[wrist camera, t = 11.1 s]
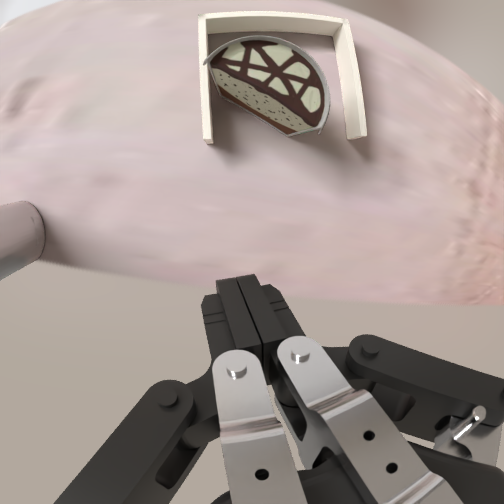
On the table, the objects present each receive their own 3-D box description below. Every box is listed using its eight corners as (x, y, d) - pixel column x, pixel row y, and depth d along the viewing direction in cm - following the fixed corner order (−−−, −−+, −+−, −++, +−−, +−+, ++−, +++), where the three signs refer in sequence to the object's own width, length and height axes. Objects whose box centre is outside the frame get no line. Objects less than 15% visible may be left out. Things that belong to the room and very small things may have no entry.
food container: (323, 105, 29) (358, 82, 20) (298, 144, 30) (326, 131, 21) (237, 53, 27) (241, 10, 17) (208, 90, 28) (200, 56, 18)
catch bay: (206, 144, 30) (203, 139, 26) (201, 30, 25) (198, 14, 22) (352, 139, 31) (367, 135, 27) (336, 32, 26) (347, 19, 23)
